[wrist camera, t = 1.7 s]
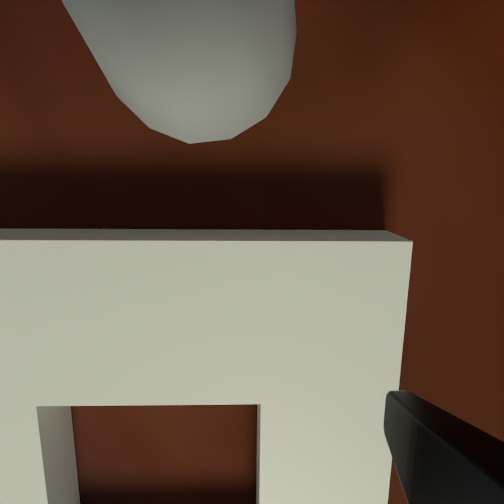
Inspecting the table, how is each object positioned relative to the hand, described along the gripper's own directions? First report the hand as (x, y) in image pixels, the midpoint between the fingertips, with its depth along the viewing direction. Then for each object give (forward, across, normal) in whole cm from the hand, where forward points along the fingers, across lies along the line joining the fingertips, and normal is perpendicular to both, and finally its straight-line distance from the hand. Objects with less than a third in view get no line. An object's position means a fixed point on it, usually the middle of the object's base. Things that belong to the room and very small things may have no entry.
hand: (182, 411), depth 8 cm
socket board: (+8, +2, +7) cm, 11 cm away
